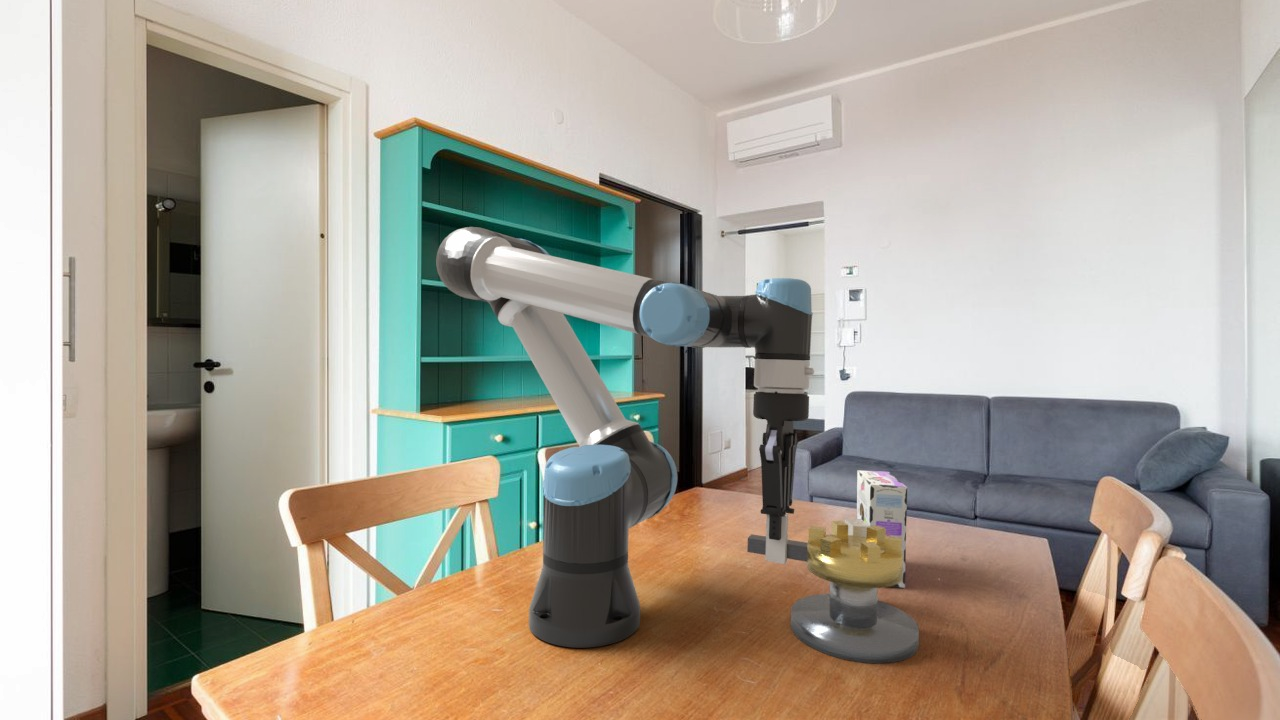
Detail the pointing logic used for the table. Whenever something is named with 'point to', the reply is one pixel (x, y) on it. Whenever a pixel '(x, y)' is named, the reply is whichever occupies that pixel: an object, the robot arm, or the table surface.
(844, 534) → the gold studded disc
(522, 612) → the table surface
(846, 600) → the nut base
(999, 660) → the table surface
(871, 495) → the candy box
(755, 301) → the robot arm
